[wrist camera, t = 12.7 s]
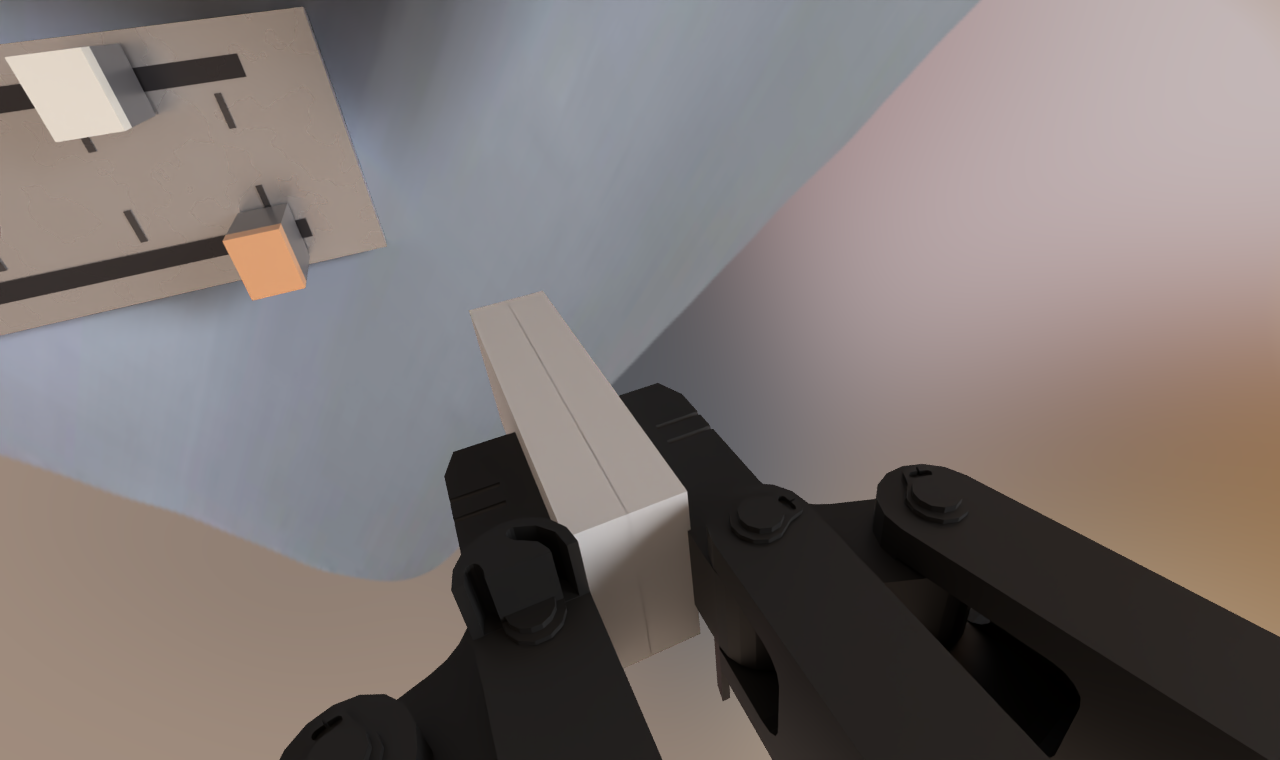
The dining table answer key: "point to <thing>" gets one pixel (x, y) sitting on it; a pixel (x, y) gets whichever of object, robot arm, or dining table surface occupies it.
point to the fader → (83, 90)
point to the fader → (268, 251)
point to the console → (175, 169)
